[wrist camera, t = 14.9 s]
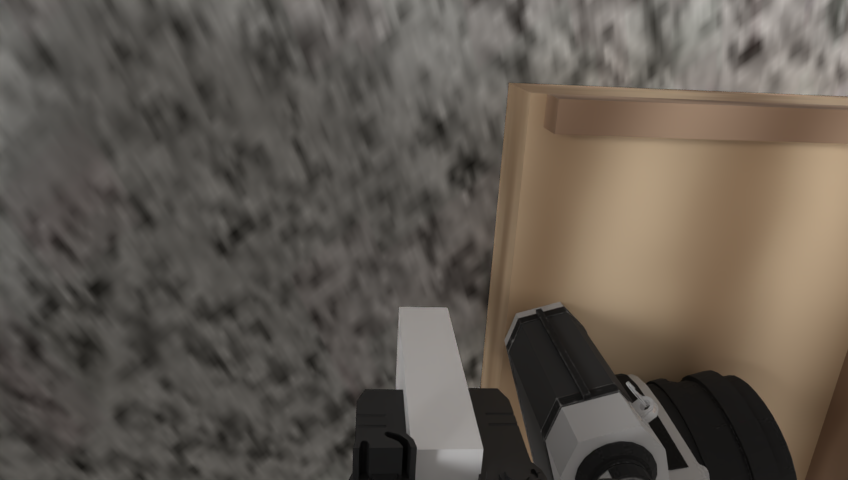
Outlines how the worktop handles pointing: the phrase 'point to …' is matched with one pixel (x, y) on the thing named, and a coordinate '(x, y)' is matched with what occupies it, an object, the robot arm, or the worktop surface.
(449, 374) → the robot arm
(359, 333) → the worktop surface
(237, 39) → the worktop surface
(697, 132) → the wooden corner tray
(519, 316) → the camera
